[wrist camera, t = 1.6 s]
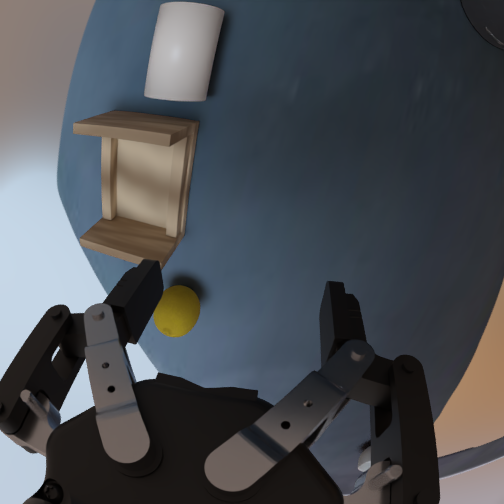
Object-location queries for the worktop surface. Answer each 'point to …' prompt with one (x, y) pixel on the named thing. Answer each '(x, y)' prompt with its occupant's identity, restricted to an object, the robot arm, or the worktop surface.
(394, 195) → the worktop surface
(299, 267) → the worktop surface
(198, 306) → the lemon
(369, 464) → the cereal bowl
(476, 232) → the worktop surface
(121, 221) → the roll holder
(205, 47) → the paper roll
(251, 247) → the worktop surface
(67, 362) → the robot arm
